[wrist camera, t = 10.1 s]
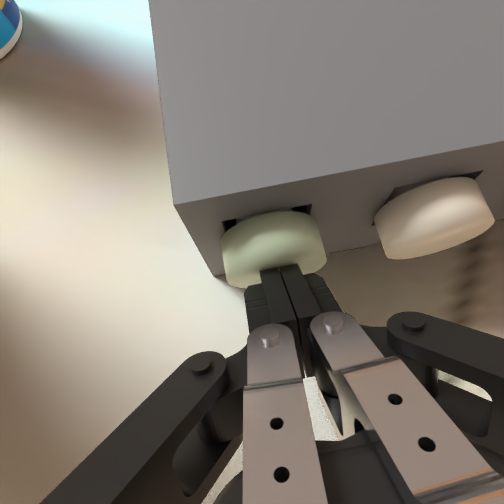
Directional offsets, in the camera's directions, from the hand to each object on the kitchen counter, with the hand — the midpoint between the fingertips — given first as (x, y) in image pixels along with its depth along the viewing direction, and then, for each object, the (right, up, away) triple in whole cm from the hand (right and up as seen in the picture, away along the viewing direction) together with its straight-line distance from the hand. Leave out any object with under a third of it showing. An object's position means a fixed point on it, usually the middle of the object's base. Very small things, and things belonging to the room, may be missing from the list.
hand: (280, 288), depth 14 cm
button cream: (+6, +3, +3) cm, 7 cm away
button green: (0, +2, +3) cm, 4 cm away
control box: (+5, +7, +7) cm, 11 cm away
